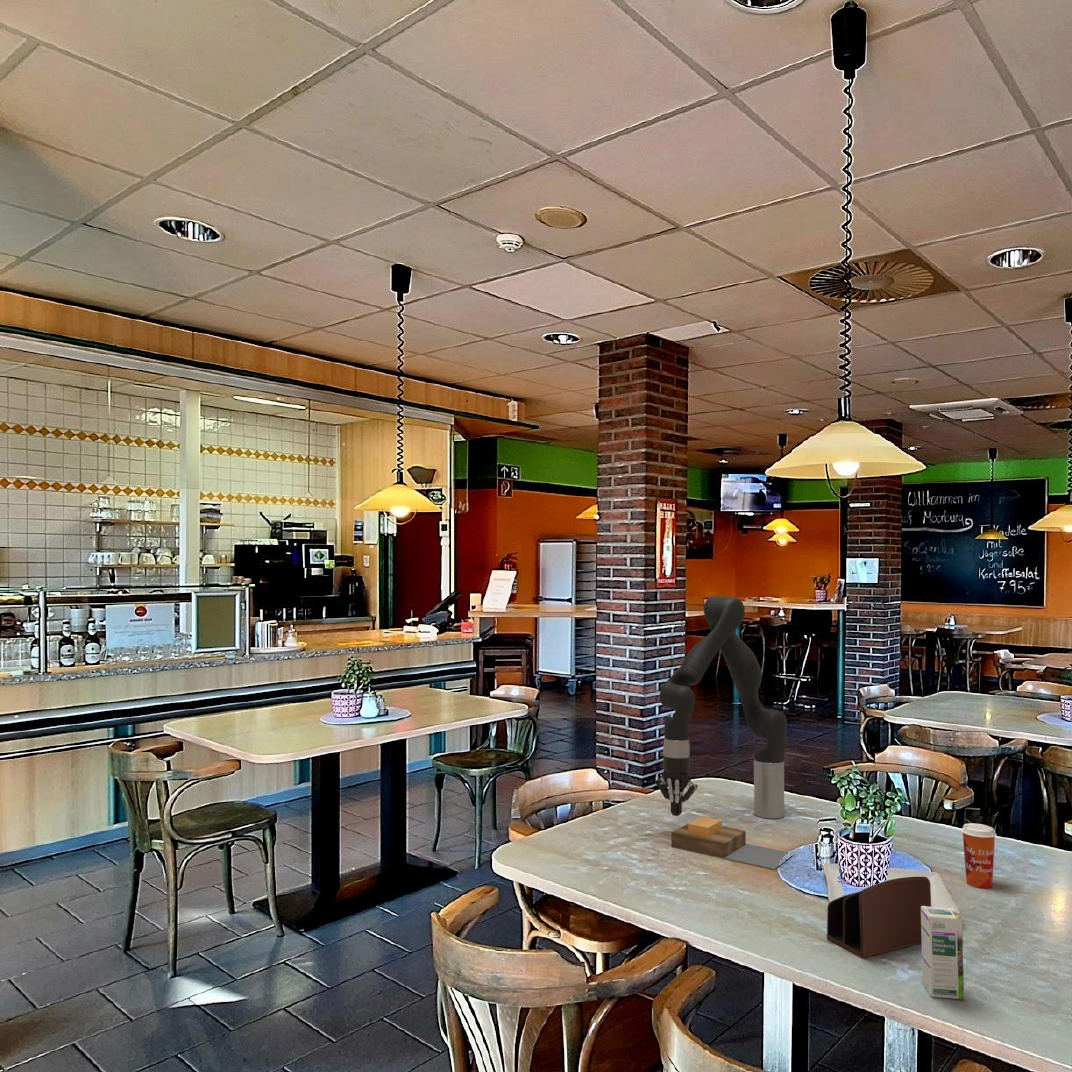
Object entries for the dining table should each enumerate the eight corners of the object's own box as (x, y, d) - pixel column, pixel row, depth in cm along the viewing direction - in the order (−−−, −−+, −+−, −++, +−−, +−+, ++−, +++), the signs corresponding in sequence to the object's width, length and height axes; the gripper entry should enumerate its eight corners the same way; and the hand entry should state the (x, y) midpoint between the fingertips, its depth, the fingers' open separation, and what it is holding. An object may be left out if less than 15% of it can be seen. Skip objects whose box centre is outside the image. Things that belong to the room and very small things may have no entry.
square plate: (937, 886, 209) (937, 870, 209) (961, 931, 183) (961, 913, 183) (822, 875, 216) (822, 859, 217) (829, 916, 190) (829, 899, 190)
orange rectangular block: (702, 825, 244) (702, 816, 244) (722, 829, 240) (721, 820, 240) (688, 832, 236) (688, 823, 236) (708, 836, 233) (708, 827, 233)
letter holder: (933, 942, 177) (932, 873, 178) (862, 960, 168) (862, 888, 169) (894, 923, 186) (893, 858, 187) (826, 940, 177) (825, 871, 178)
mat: (746, 844, 239) (746, 843, 239) (794, 854, 230) (794, 853, 230) (724, 859, 227) (724, 857, 227) (774, 870, 218) (774, 868, 218)
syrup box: (930, 997, 153) (929, 916, 154) (921, 982, 159) (920, 903, 160) (964, 1000, 152) (963, 918, 153) (953, 985, 158) (952, 906, 159)
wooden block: (693, 834, 248) (693, 820, 248) (745, 845, 238) (745, 830, 238) (671, 846, 237) (671, 832, 237) (724, 858, 227) (724, 843, 227)
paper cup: (964, 887, 207) (963, 829, 208) (960, 877, 214) (959, 821, 215) (1000, 892, 204) (999, 833, 205) (994, 881, 212) (994, 824, 212)
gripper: (703, 755, 243) (703, 816, 243) (662, 749, 251) (661, 808, 250) (691, 759, 237) (691, 822, 237) (650, 753, 245) (649, 814, 244)
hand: (676, 815), depth 244 cm, fingers closed
